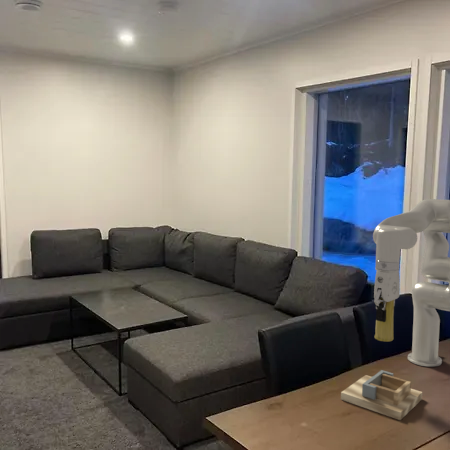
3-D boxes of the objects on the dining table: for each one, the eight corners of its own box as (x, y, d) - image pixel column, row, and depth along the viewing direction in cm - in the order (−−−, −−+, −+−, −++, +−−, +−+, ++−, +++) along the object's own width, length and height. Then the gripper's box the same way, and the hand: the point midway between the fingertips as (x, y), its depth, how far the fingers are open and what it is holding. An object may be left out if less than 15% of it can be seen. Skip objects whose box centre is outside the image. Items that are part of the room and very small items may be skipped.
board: (365, 381, 174) (366, 364, 173) (422, 399, 160) (422, 380, 160) (340, 399, 160) (341, 380, 160) (400, 420, 147) (401, 400, 146)
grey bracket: (381, 381, 168) (381, 370, 167) (393, 384, 165) (393, 373, 164) (362, 395, 157) (362, 383, 156) (374, 399, 154) (374, 387, 154)
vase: (395, 341, 160) (397, 299, 159) (377, 341, 160) (378, 299, 159) (390, 335, 166) (392, 295, 165) (372, 335, 166) (374, 294, 165)
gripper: (386, 271, 152) (384, 327, 154) (409, 263, 164) (406, 316, 166) (364, 267, 157) (362, 322, 159) (387, 261, 169) (385, 311, 171)
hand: (384, 318), depth 162 cm, fingers closed on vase, 5 cm apart
